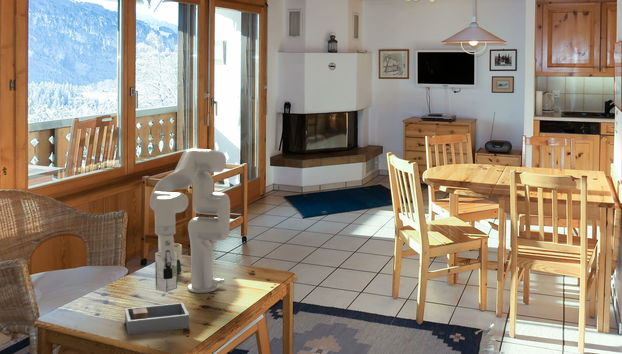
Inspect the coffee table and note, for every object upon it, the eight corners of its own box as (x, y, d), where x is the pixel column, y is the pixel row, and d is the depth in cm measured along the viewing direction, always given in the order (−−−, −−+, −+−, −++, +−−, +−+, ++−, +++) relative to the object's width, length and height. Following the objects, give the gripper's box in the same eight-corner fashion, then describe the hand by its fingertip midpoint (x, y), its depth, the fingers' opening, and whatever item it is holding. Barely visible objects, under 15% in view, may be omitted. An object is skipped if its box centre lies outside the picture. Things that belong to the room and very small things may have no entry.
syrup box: (166, 285, 270) (165, 248, 267) (177, 288, 266) (176, 251, 264) (155, 289, 265) (154, 252, 263) (166, 292, 262) (165, 254, 259)
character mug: (186, 274, 328) (185, 247, 326) (171, 276, 324) (171, 249, 322) (177, 268, 337) (176, 241, 335) (163, 270, 333) (162, 243, 331)
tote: (183, 314, 277) (182, 302, 276) (189, 327, 264) (188, 314, 263) (125, 321, 270) (124, 308, 269) (128, 334, 257) (127, 321, 256)
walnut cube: (146, 320, 268) (146, 307, 267) (148, 325, 263) (147, 312, 262) (133, 321, 266) (132, 309, 265) (134, 326, 261) (133, 313, 261)
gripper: (179, 234, 255) (180, 281, 258) (172, 223, 271) (173, 268, 274) (158, 235, 253) (159, 283, 256) (152, 224, 269) (153, 269, 272)
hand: (166, 275), depth 265 cm, fingers closed on syrup box, 7 cm apart
